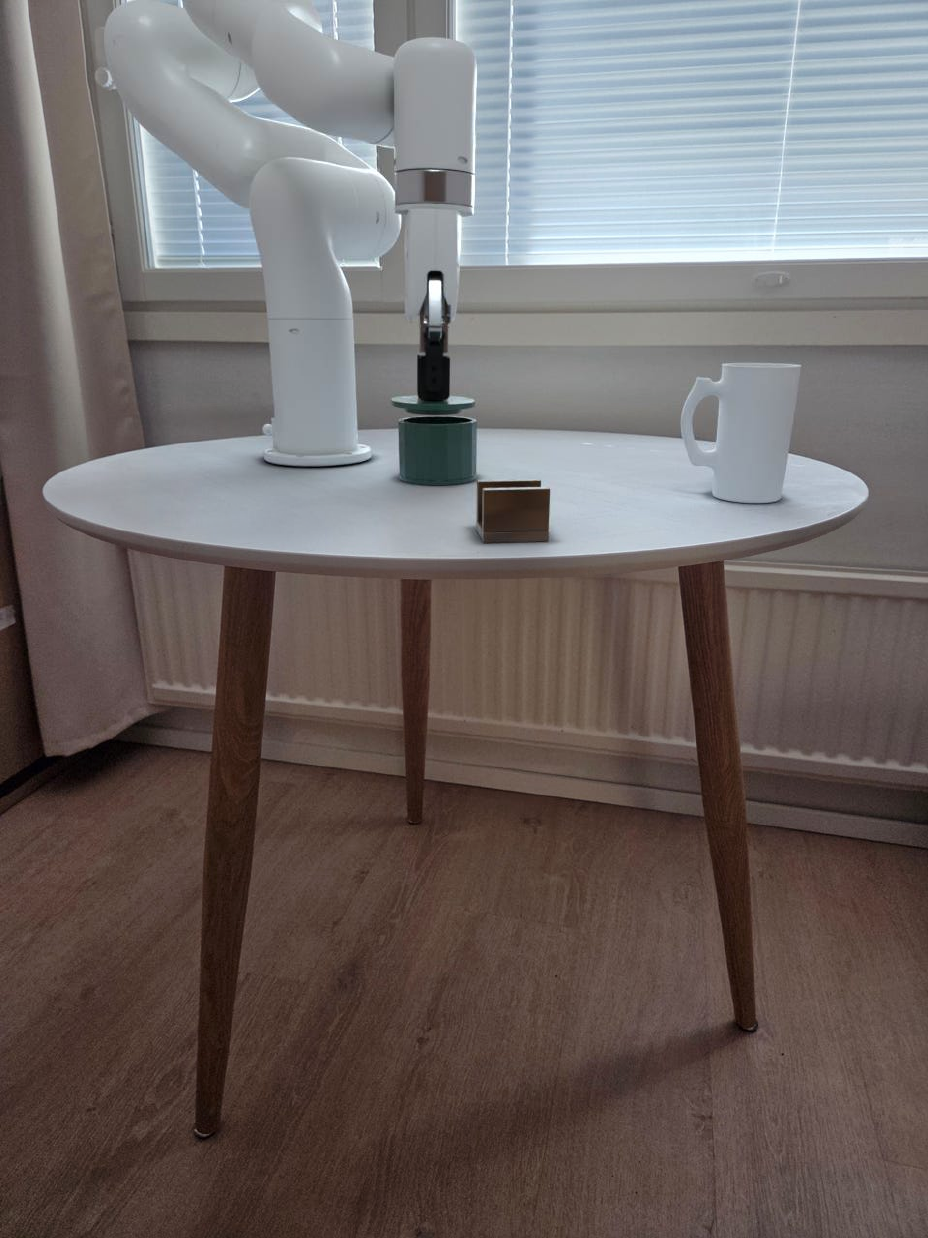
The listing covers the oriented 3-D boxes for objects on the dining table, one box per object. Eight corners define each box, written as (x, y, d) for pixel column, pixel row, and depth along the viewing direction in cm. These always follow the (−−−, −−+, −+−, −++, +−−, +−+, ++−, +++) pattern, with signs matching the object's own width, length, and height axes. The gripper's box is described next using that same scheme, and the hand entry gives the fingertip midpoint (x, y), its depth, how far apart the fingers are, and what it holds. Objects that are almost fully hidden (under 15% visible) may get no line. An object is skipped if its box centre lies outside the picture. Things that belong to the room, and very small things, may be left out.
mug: (774, 490, 82) (790, 362, 78) (792, 505, 76) (811, 367, 72) (669, 488, 83) (680, 362, 79) (679, 502, 77) (691, 366, 73)
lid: (390, 416, 82) (389, 344, 80) (391, 405, 90) (391, 340, 88) (477, 417, 83) (479, 345, 80) (471, 407, 91) (473, 341, 89)
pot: (399, 485, 85) (397, 424, 83) (400, 471, 92) (398, 415, 90) (478, 484, 85) (479, 424, 83) (473, 471, 93) (473, 415, 90)
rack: (483, 543, 63) (484, 490, 62) (476, 529, 67) (476, 479, 66) (548, 541, 64) (550, 488, 62) (537, 527, 68) (539, 478, 67)
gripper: (395, 204, 87) (397, 388, 93) (393, 184, 72) (395, 405, 78) (468, 207, 87) (464, 389, 94) (480, 187, 72) (475, 407, 79)
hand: (433, 395), depth 86 cm, fingers closed on lid, 2 cm apart
